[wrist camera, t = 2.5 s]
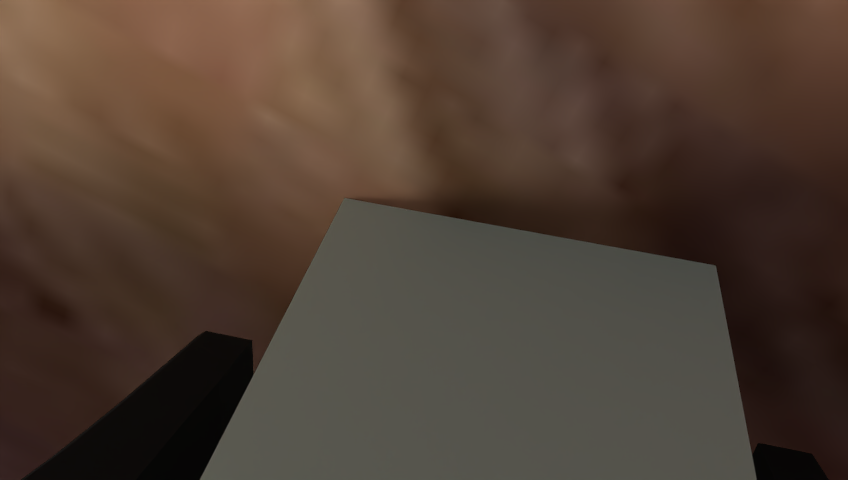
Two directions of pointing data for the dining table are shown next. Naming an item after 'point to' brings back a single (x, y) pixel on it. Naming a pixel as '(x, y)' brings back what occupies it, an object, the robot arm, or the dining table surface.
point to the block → (490, 362)
